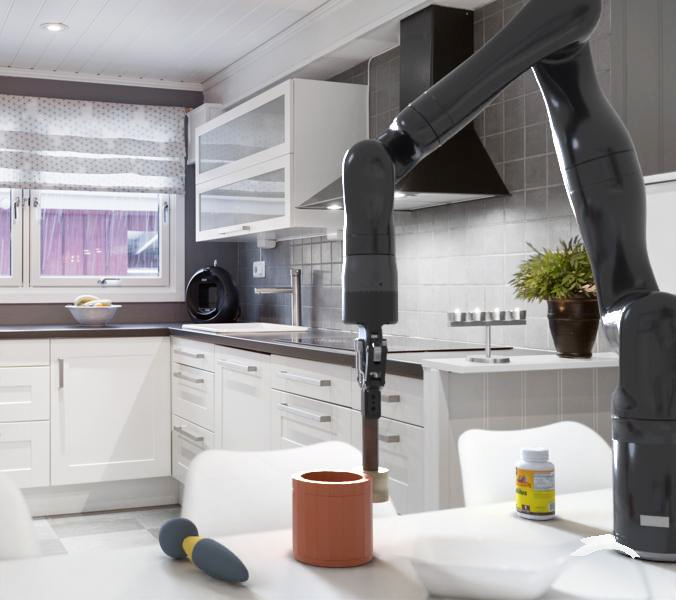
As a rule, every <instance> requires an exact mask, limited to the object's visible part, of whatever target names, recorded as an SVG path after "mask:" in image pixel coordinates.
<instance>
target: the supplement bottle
mask: <svg viewBox="0 0 676 600" xmlns="http://www.w3.org/2000/svg"><path fill="white" fill-rule="evenodd" d="M549 460H550V454H549V449H547V448H544V447H538V446H537V447H532V446H530V447H529V446H528V447H526V446H525V447H521V448H520V459H519V460H517V461H516V463H515V500H516V501H515V507H516V508H515V509H516V514H517V515H518V516H519V517H521V518H523V519H526V520H527V519H528V520H536V521H545V520H546V521H547V520H551V519H554V517H555V516H556V486H555V485H556V473H555V472H556V469H555V468H556V467H555V463H553V462H552V461H549Z"/></svg>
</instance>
